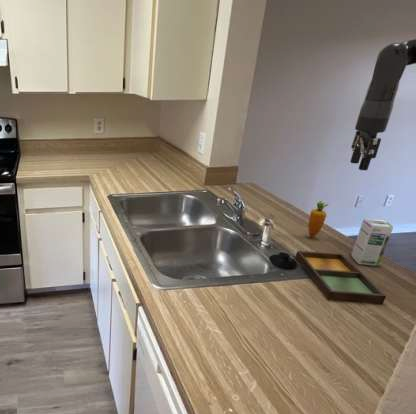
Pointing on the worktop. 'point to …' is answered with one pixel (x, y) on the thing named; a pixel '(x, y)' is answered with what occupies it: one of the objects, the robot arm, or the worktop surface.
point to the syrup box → (371, 241)
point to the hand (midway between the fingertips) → (358, 166)
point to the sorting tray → (339, 278)
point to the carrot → (317, 219)
